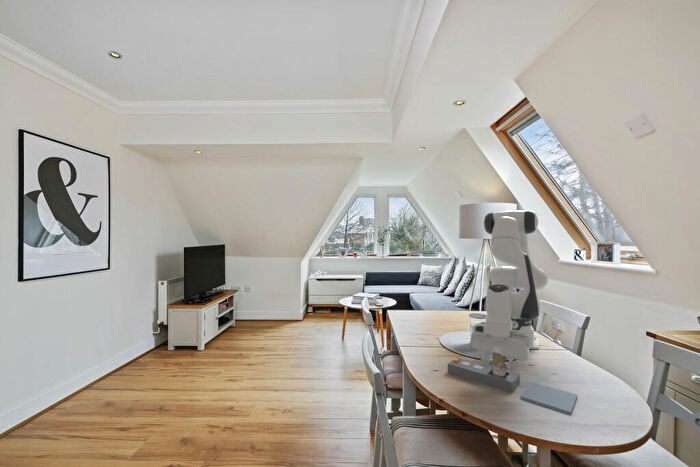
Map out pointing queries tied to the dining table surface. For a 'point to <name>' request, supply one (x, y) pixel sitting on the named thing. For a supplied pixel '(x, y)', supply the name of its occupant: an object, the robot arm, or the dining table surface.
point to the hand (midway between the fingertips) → (498, 366)
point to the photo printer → (485, 358)
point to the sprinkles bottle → (498, 363)
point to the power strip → (483, 374)
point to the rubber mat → (549, 397)
